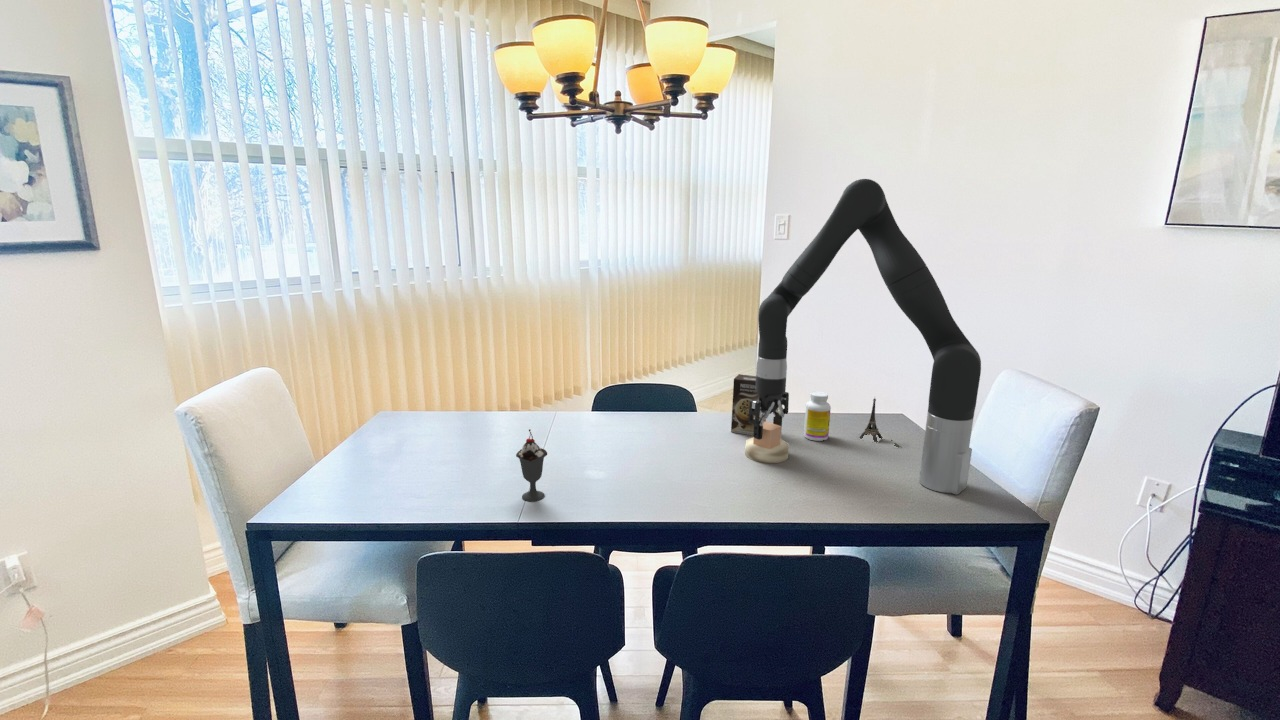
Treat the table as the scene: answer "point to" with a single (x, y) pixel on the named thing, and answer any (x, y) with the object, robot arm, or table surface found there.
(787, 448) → the plinth
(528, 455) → the sundae
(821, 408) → the supplement bottle
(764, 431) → the cube
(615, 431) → the table surface
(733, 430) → the coffee box
